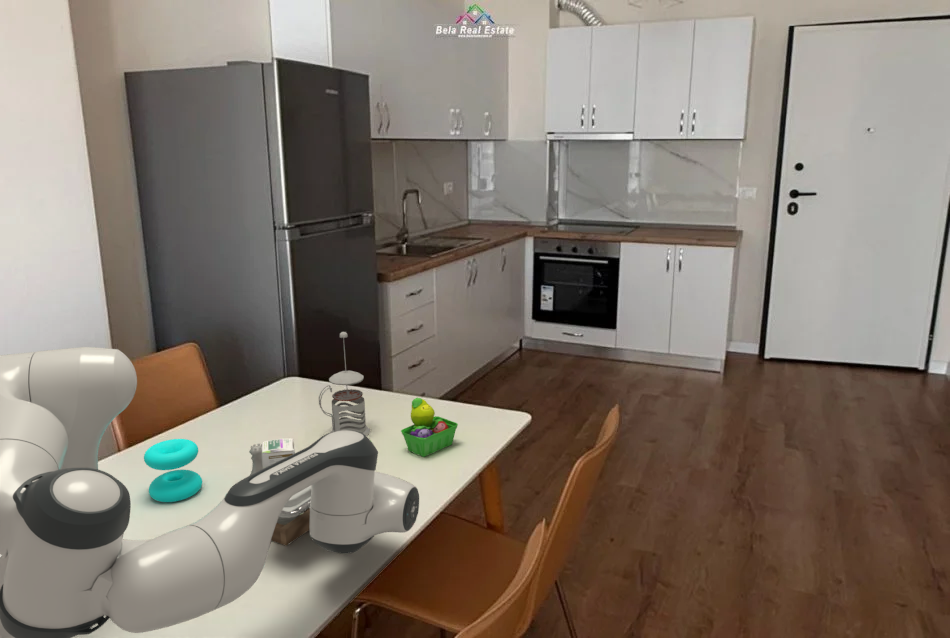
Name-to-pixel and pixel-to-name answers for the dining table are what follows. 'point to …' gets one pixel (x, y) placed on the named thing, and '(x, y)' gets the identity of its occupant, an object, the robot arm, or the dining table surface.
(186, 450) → the donuts
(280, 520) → the syrup box
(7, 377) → the robot arm
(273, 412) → the dining table surface
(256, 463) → the rook chess piece
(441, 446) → the fruit basket
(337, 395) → the french press
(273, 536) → the wooden divided tray
